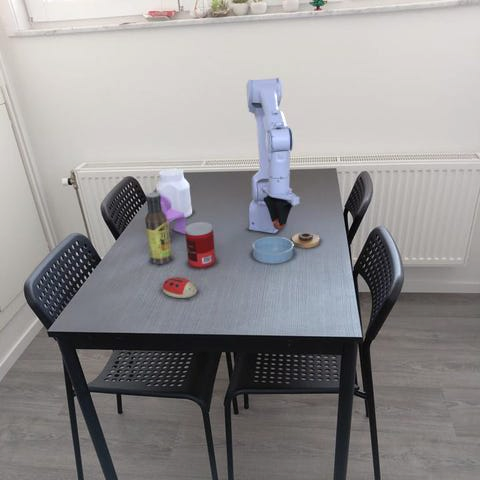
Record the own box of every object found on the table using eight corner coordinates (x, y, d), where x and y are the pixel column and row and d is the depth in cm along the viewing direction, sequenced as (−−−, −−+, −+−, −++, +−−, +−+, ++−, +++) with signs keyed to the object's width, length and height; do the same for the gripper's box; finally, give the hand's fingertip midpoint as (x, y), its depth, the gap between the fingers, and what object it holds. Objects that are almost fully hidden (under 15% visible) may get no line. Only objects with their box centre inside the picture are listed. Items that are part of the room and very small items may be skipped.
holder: (287, 245, 147) (287, 238, 145) (297, 234, 153) (297, 228, 152) (314, 249, 143) (314, 242, 142) (322, 238, 150) (323, 231, 148)
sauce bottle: (167, 266, 139) (157, 199, 127) (147, 264, 140) (136, 198, 129) (176, 256, 144) (167, 191, 132) (157, 254, 145) (147, 190, 134)
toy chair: (190, 234, 156) (185, 189, 148) (169, 243, 151) (163, 197, 143) (173, 228, 161) (167, 184, 153) (152, 237, 156) (145, 191, 148)
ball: (271, 230, 138) (271, 220, 137) (275, 226, 141) (275, 216, 139) (282, 232, 137) (282, 221, 136) (285, 227, 140) (285, 217, 138)
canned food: (219, 258, 141) (216, 223, 135) (209, 270, 135) (206, 234, 129) (195, 255, 144) (192, 220, 138) (184, 267, 137) (180, 231, 131)
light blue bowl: (246, 259, 140) (245, 250, 138) (262, 243, 149) (262, 234, 147) (284, 266, 135) (284, 256, 134) (299, 249, 144) (299, 240, 142)
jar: (157, 218, 169) (150, 176, 161) (163, 208, 177) (158, 167, 169) (189, 218, 168) (184, 176, 159) (194, 208, 176) (190, 167, 167)
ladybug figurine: (190, 302, 122) (189, 290, 120) (156, 296, 125) (154, 284, 123) (201, 289, 127) (200, 277, 125) (169, 283, 130) (167, 272, 128)
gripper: (308, 178, 127) (306, 226, 135) (273, 166, 137) (273, 212, 145) (288, 184, 124) (287, 233, 132) (253, 172, 134) (254, 218, 141)
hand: (278, 222), depth 138 cm, fingers closed on ball, 3 cm apart
